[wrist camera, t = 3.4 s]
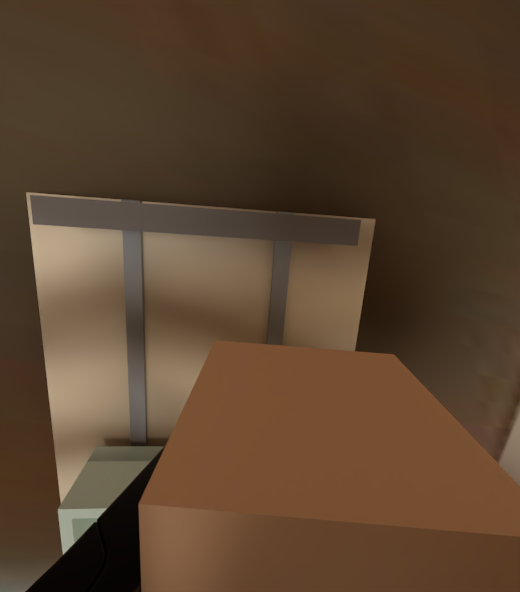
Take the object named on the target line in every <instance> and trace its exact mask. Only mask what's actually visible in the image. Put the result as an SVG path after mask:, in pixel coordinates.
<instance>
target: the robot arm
mask: <svg viewBox="0 0 520 592" xmlns="http://www.w3.org/2000/svg"><path fill="white" fill-rule="evenodd" d="M165 446H166V445H165ZM165 446H164V447H163V448H162V449H161V450H160V452H159V453H158V454H157V455H156V456H155V457H154V458H153V459H152V460H151V461H150V462H149V463H148V465H147V466H146V467H145V468H144V469H143V470H142V471H141V472H140V473H139V474H138V475H137V476H136V477H135V479H134V480H133V481H132V482H131V483H130V484H129V485H128V486H127V487H126V488H125V489H124V490H123V492H122V493H121V494H120V495H119V496H118V497H117V498H116V499H115V500H114V501H113V502H112V503H111V505H110V506H109V507H108V508H107V509H106V510H105V511H104V512H103V513H102V514H101V515H100V516H99V518H98V519H97V522H94V523H93V524H92V525H91V526H90V527H89V528H88V529H87V530H86V531H85V532H84V534H83V535H82V536H81V537H80V538H79V539H78V540H77V541H76V542H75V543H74V544H73V545H72V546H71V547H70V548H69V549H68V550H67V551H66V552H65V553H64V554H63V556H62V557H61V558H60V559H59V560H58V561H57V562H56V563H55V564H54V565H53V566H52V567H51V568H50V569H48V570H47V571H46V572H45V573H44V574H43V575H42V576H41V577H40V578H39V579H38V580H37V581H36V582H35V583H34V584H33V585H32V586H31V587H30V588H29V589H28V590H27V591H26V592H141V564H140V535H139V505H138V504H139V502H140V500H141V497H142V495H143V493H144V491H145V489H146V487H147V485H148V483H149V480H150V478H151V476H152V474H153V472H154V470H155V468H156V465H157V463H158V461H159V459H160V457H161V455H162V453H163V450H164V448H165Z"/></svg>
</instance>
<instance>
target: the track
mask: <svg viewBox="0 0 520 592" xmlns="http://www.w3.org/2000/svg"><path fill="white" fill-rule="evenodd" d="M26 196H27V205H28V214H29V223H30V232H31V241H32V250H33V259H34V268H35V277H36V286H37V294H38V303H39V312H40V321H41V330H42V339H43V348H44V357H45V366H46V375H47V384H48V393H49V402H50V411H51V420H52V429H53V438H54V447H55V456H56V465H57V474H58V483H59V492H60V501H61V503H62V502H63V500H64V498H65V497H66V495H67V493H68V492H69V490H70V489H71V487H72V485H73V484H74V482H75V480H76V479H77V477H78V476H79V474H80V472H81V471H82V469H83V467H84V466H85V464H86V463H87V461H88V459H89V458H90V456H91V454H92V453H93V451H94V449H95V448H96V447H108V446H165V445H166V444H167V442H168V440H169V438H170V435H171V433H172V431H173V429H174V427H175V425H176V423H177V420H178V418H179V416H180V414H181V412H182V410H183V408H184V406H185V403H186V401H187V399H188V397H189V395H190V393H191V391H192V388H193V386H194V384H195V382H196V380H197V378H198V376H199V373H200V371H201V369H202V367H203V365H204V363H205V361H206V358H207V356H208V354H209V352H210V350H211V348H212V346H213V343H214V341H215V340H217V341H230V342H243V343H256V344H268V345H281V346H294V347H307V348H320V349H332V350H345V351H355V347H356V341H357V335H358V328H359V322H360V315H361V309H362V303H363V296H364V290H365V284H366V277H367V271H368V265H369V258H370V252H371V246H372V239H373V233H374V227H375V220H376V219H368V218H355V217H342V216H329V215H315V214H302V213H293V212H280V211H277V212H276V211H263V210H250V209H237V208H224V207H211V206H198V205H185V204H172V203H159V202H146V201H136V200H123V199H121V200H119V199H106V198H93V197H80V196H67V195H54V194H41V193H28V192H26Z"/></svg>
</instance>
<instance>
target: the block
mask: <svg viewBox="0 0 520 592" xmlns="http://www.w3.org/2000/svg"><path fill="white" fill-rule="evenodd" d="M138 505H139V535H140V564H141V592H520V486H519V485H518V484H517V483H516V482H515V481H514V480H513V479H512V478H511V477H510V476H509V475H508V474H507V473H506V472H505V471H504V470H503V469H502V467H501V466H500V465H499V464H498V463H497V462H496V461H495V460H494V459H493V458H492V457H491V456H490V455H489V454H488V453H487V452H486V451H485V450H484V449H483V447H482V446H481V445H480V444H479V443H478V442H477V441H476V440H475V439H474V438H473V437H472V436H471V435H470V434H469V433H468V432H467V431H466V430H465V429H464V428H463V427H462V425H461V424H460V423H459V422H458V421H457V420H456V419H455V418H454V417H453V416H452V415H451V414H450V413H449V412H448V411H447V410H446V409H445V408H444V407H443V406H442V404H441V403H440V402H439V401H438V400H437V399H436V398H435V397H434V396H433V395H432V394H431V393H430V392H429V391H428V390H427V389H426V388H425V387H424V386H423V385H422V384H421V382H420V381H419V380H418V379H417V378H416V377H415V376H414V375H413V374H412V373H411V372H410V371H409V370H408V369H407V368H406V367H405V366H404V365H403V364H402V363H401V362H400V360H399V359H398V358H397V357H396V356H395V355H394V354H384V353H371V352H358V351H345V350H332V349H320V348H307V347H294V346H281V345H268V344H256V343H243V342H230V341H217V340H215V341H214V343H213V346H212V348H211V350H210V352H209V354H208V356H207V358H206V361H205V363H204V365H203V367H202V369H201V371H200V373H199V376H198V378H197V380H196V382H195V384H194V386H193V388H192V391H191V393H190V395H189V397H188V399H187V401H186V403H185V406H184V408H183V410H182V412H181V414H180V416H179V418H178V420H177V423H176V425H175V427H174V429H173V431H172V433H171V435H170V438H169V440H168V442H167V444H166V446H165V448H164V450H163V453H162V455H161V457H160V459H159V461H158V463H157V465H156V468H155V470H154V472H153V474H152V476H151V478H150V480H149V483H148V485H147V487H146V489H145V491H144V493H143V495H142V497H141V500H140V502H139V504H138Z"/></svg>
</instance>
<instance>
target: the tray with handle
mask: <svg viewBox="0 0 520 592" xmlns="http://www.w3.org/2000/svg"><path fill="white" fill-rule="evenodd" d="M163 447H164V446H108V447H96V448H95V449H94V451H93V453H92V454H91V456H90V458H89V459H88V461H87V463H86V464H85V466H84V467H83V469H82V471H81V472H80V474H79V476H78V477H77V479H76V480H75V482H74V484H73V485H72V487H71V489H70V490H69V492H68V493H67V495H66V497H65V498H64V500H63V502H62V503H61V505H60V507H59V508H58V516H59V525H60V533H61V542H62V551H63V554H64V553H65V552H66V551H67V550H68V549H69V548H70V547H71V546H72V545H73V544H74V543H75V542H76V541H77V540H78V539H79V538H80V537H81V536H82V535H83V534H84V532H85V531H86V530H87V529H88V528H89V527H90V526H91V525H92V524H93V523H94V522H97V519H98V518H99V516H100V515H101V514H102V513H103V512H104V511H105V510H106V509H107V508H108V507H109V506H110V505H111V503H112V502H113V501H114V500H115V499H116V498H117V497H118V496H119V495H120V494H121V493H122V492H123V490H124V489H125V488H126V487H127V486H128V485H129V484H130V483H131V482H132V481H133V480H134V479H135V477H136V476H137V475H138V474H139V473H140V472H141V471H142V470H143V469H144V468H145V467H146V466H147V465H148V463H149V462H150V461H151V460H152V459H153V458H154V457H155V456H156V455H157V454H158V453H159V452H160V450H161V449H162V448H163Z"/></svg>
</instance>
